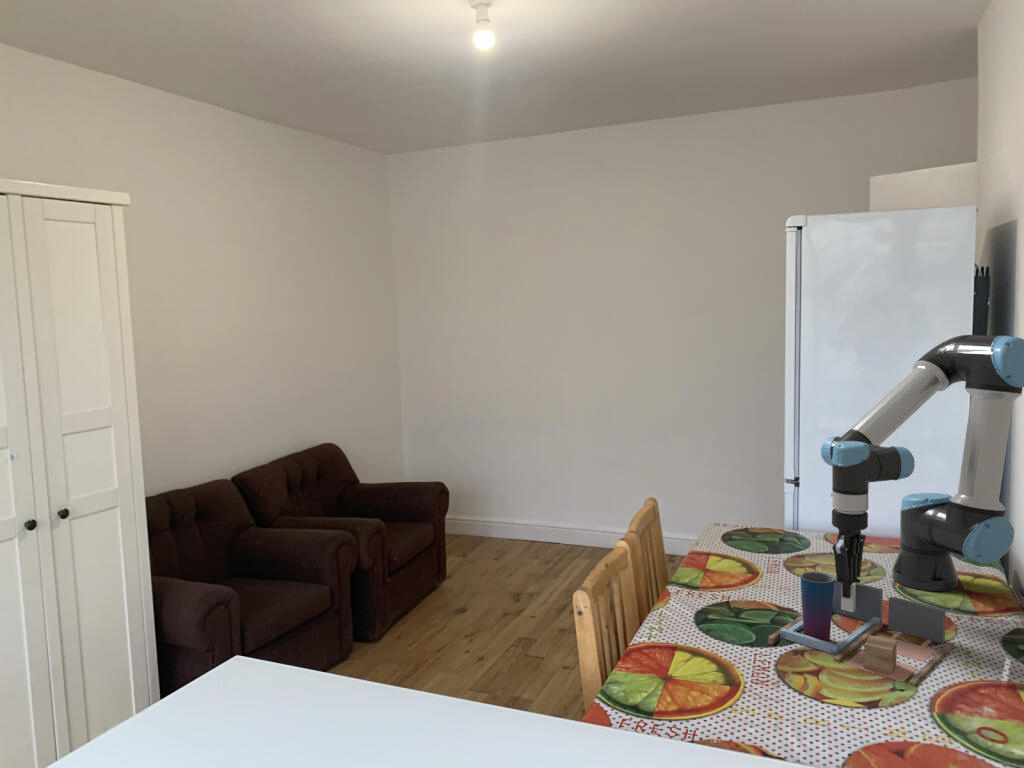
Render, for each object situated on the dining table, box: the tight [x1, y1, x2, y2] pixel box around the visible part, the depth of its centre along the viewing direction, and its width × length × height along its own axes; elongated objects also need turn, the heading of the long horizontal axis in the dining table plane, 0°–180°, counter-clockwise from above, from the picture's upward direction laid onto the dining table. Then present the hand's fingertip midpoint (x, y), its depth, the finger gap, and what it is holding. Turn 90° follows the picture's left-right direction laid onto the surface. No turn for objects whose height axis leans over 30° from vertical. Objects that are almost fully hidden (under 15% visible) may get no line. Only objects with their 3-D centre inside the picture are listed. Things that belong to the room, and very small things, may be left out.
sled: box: [779, 577, 884, 656], centre depth 170 cm, size 24×12×8 cm, turn 134°
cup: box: [799, 571, 835, 642], centre depth 164 cm, size 7×7×15 cm
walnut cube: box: [863, 635, 898, 675], centre depth 152 cm, size 5×5×5 cm
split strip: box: [844, 596, 947, 683], centre depth 158 cm, size 24×11×8 cm, turn 134°
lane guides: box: [767, 614, 955, 687], centre depth 163 cm, size 23×30×2 cm
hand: (848, 609), depth 176 cm, fingers closed
